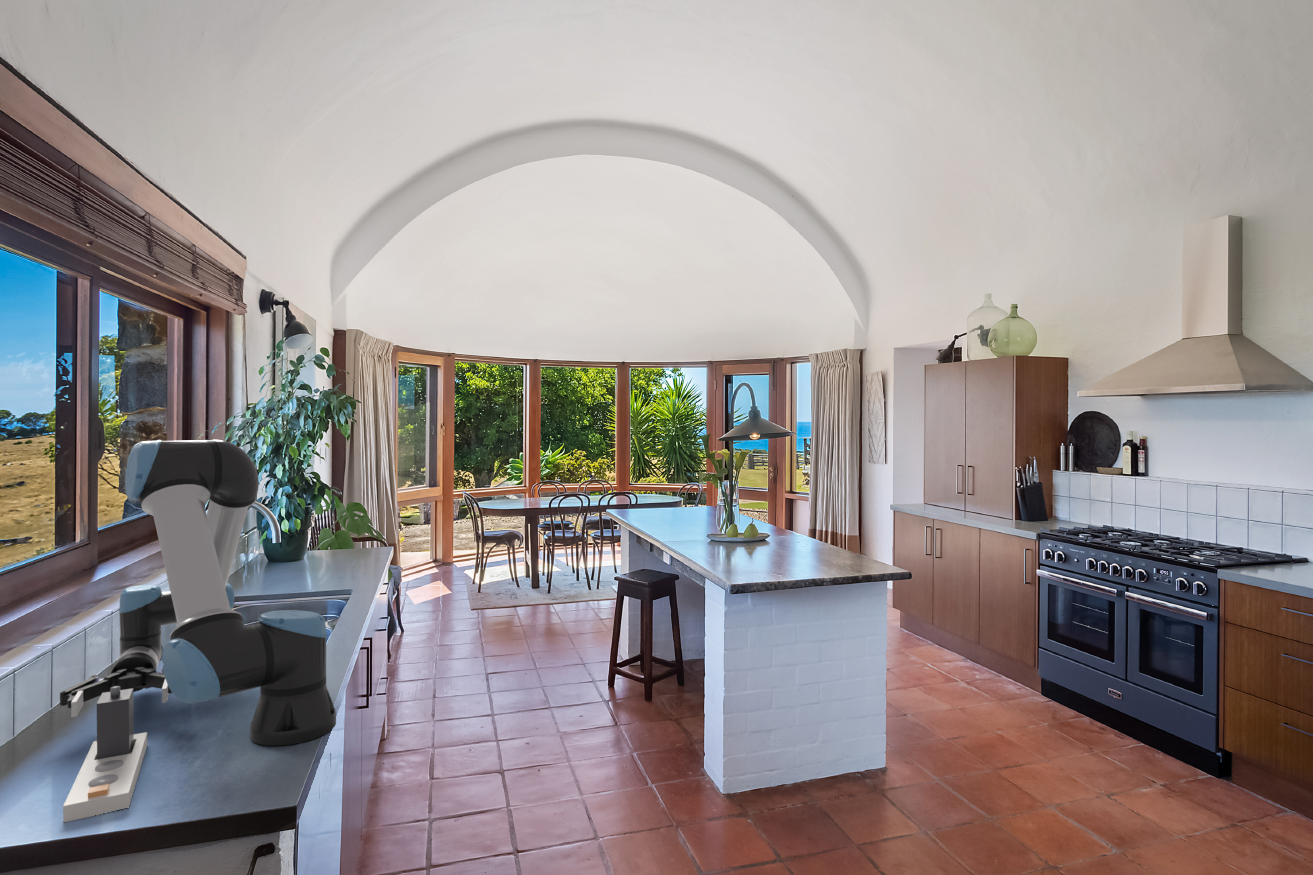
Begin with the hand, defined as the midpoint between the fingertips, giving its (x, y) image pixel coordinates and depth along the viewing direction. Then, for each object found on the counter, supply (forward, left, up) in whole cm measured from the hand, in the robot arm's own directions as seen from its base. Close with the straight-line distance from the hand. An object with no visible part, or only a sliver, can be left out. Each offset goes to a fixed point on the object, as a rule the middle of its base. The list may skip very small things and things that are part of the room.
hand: (120, 702), depth 134 cm
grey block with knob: (-6, +4, -7) cm, 11 cm away
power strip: (-12, +7, -8) cm, 17 cm away
